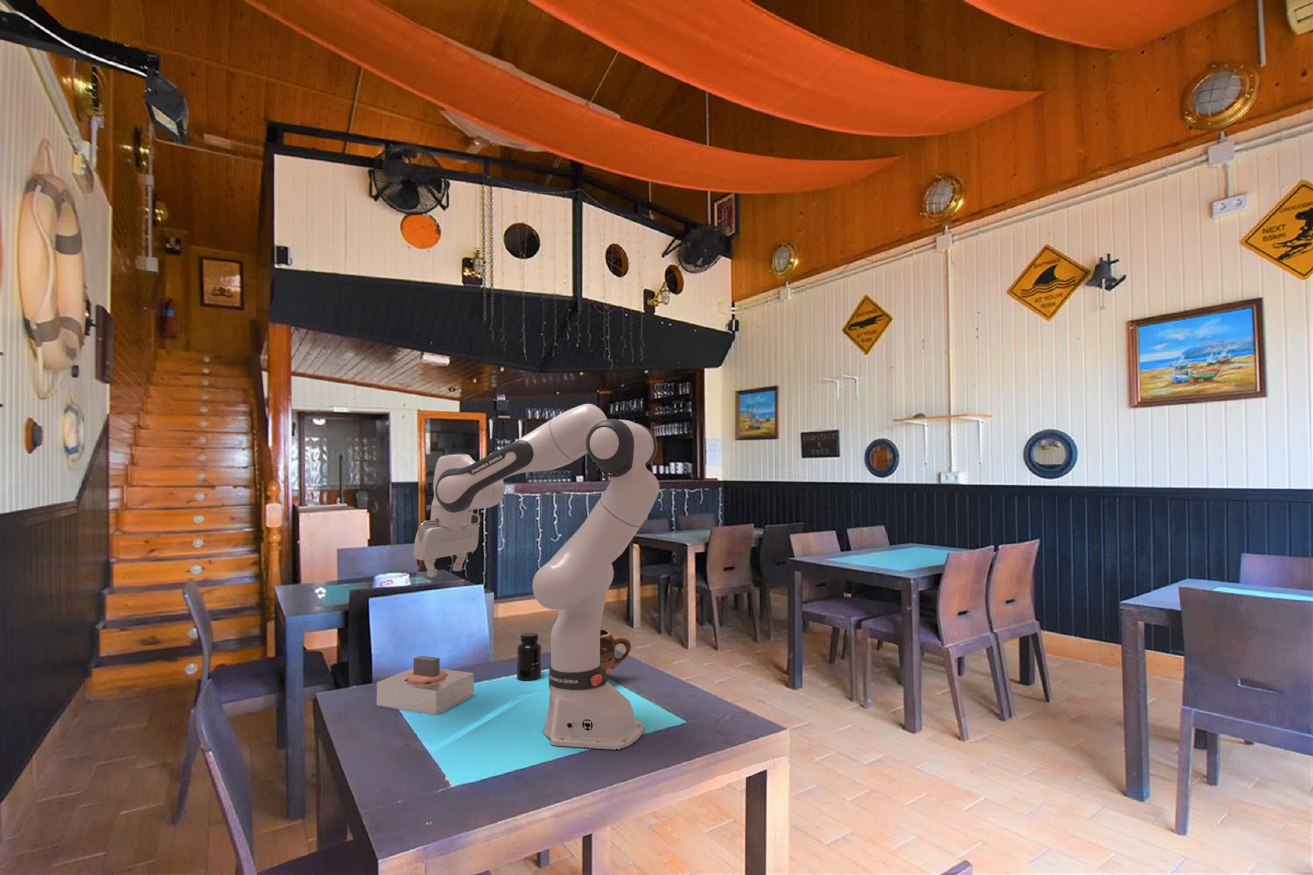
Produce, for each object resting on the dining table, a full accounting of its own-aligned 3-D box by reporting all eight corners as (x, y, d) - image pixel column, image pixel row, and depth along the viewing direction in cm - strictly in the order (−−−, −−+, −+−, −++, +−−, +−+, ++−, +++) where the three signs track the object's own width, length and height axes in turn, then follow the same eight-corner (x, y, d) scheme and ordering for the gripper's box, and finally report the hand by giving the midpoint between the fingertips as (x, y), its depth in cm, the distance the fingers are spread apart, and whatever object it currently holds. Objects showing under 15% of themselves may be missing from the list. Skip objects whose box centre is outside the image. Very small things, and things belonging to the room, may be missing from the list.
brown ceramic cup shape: (622, 671, 185) (622, 622, 186) (637, 684, 174) (637, 632, 175) (554, 681, 177) (554, 630, 178) (565, 695, 166) (565, 640, 167)
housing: (473, 700, 163) (473, 672, 163) (436, 721, 149) (436, 690, 150) (417, 692, 169) (417, 665, 169) (376, 711, 156) (376, 682, 156)
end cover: (453, 696, 162) (453, 654, 162) (428, 708, 153) (428, 665, 154) (424, 691, 165) (424, 651, 166) (398, 704, 157) (398, 661, 157)
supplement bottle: (538, 681, 177) (538, 637, 178) (514, 681, 178) (514, 637, 178) (543, 673, 184) (543, 631, 185) (519, 673, 184) (520, 631, 185)
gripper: (430, 522, 148) (425, 582, 148) (484, 516, 167) (480, 569, 167) (409, 519, 151) (404, 578, 150) (464, 513, 170) (460, 565, 170)
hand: (444, 573), depth 159 cm, fingers open, 8 cm apart
